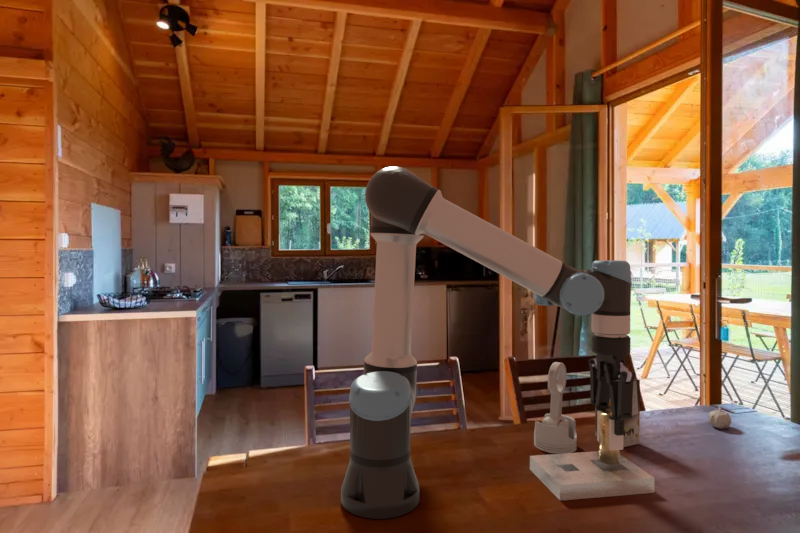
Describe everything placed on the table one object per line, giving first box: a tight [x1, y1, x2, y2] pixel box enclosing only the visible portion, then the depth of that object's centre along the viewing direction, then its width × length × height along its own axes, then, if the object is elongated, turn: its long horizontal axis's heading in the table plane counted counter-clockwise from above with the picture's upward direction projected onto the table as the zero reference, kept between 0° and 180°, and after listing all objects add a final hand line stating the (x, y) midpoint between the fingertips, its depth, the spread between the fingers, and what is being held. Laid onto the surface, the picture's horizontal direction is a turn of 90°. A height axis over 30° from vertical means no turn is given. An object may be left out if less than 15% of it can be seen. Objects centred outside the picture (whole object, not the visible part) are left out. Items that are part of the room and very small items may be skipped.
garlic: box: [707, 406, 732, 430], centre depth 137 cm, size 6×5×5 cm
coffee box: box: [594, 378, 641, 448], centre depth 127 cm, size 9×6×16 cm
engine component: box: [533, 361, 578, 454], centre depth 124 cm, size 11×20×10 cm
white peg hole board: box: [529, 450, 655, 501], centre depth 105 cm, size 20×14×3 cm
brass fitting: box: [598, 410, 621, 465], centre depth 105 cm, size 4×4×10 cm
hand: (609, 444), depth 105 cm, fingers closed on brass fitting, 4 cm apart
